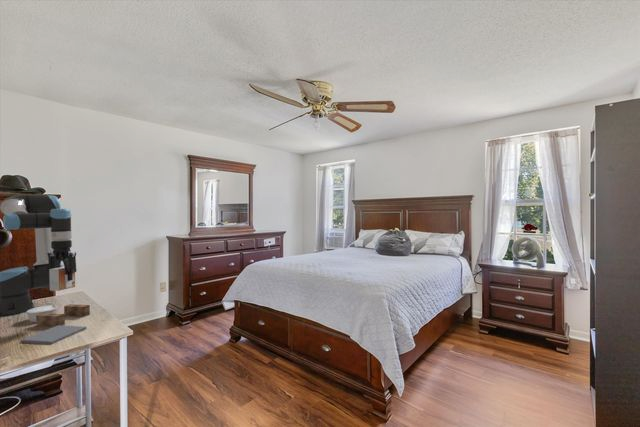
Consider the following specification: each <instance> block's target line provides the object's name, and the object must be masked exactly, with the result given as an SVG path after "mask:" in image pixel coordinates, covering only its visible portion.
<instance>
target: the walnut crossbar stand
mask: <svg viewBox="0 0 640 427" xmlns="http://www.w3.org/2000/svg"><path fill="white" fill-rule="evenodd" d="M90 305H91V304H73V303H70V304H66V305H64V307H63V310H64V311H63V313H56V314H52V313H42V314H39V315H36V317H37V322H36V326H38V327H51V328H53V327H55V326H58V325H62V326H66V318H65V316H66V317H83V318H84V317H87V316H89V315H90V314H91V310H90Z"/></svg>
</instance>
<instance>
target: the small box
mask: <svg viewBox="0 0 640 427" xmlns="http://www.w3.org/2000/svg"><path fill="white" fill-rule="evenodd" d="M65 274H66V270H65V267H60V268H54V269H49V276H50V286H49V291H50V292H51V291H52V292H60V291H65V290H68V289H72V288H76V272H74V273H73V274H72V276H73V279H72V287H68V288H65Z"/></svg>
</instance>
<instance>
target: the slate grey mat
mask: <svg viewBox="0 0 640 427" xmlns="http://www.w3.org/2000/svg"><path fill="white" fill-rule="evenodd" d="M85 330H87V326H82V325H81V326H77V325H74V326H73V325H58V326H55V327H51V328H48V329H45V330H42V331H40V332H37V333H35V334H33V335H30V336H27V337H25V338H22V339H20V340H21V341H20V342H21V343H30V344H44V345H45V344H46V345H47V344H48V345H53V344H56V343H58V342H60V341H62V340H65V339H66V338H70V337H72V336H73V335H76V334H78V333H81V332H82V331H83V332H84V331H85Z"/></svg>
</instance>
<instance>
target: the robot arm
mask: <svg viewBox="0 0 640 427" xmlns="http://www.w3.org/2000/svg"><path fill="white" fill-rule="evenodd" d="M0 211H1V213H2V214H4V215H3V218H2V219H3V223H2V224H3V228H4V229H5V230H15V231H16V230H28V229H29V230H32V229H34V235H35V237H34V238H35V253H36V262H34V263H33V265H32V268H29V266H18V267H12V268H8V269H5V270H2V271H0V317H3V316H12V315H17V314H20V313H26V312H27V311H28V310H30V309H33V308H35V304H34V303H35V302H33V299H32V298H31V296H30V290H34V289H41V288H48V287H49V288H50V276H49V269H54V268H60V267H65V270H66V274H65V288H68V287H72V279H73V276H72V274H73V273H74V272H75V273H77V259H76V258H77V257H76V256H77V252H73V251H71V248H72V247H73V246H72V245H73V242H72V240H71V239H72V238H73V236H72V213H71V209H70V208H62V207H61V203H60V200H59V198H58V196H56V195H51V194H50V195H49V194H15V195H12V196H9V197H6V198H5V199H3V200H2V201H1V203H0ZM68 289H69V288H68Z"/></svg>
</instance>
